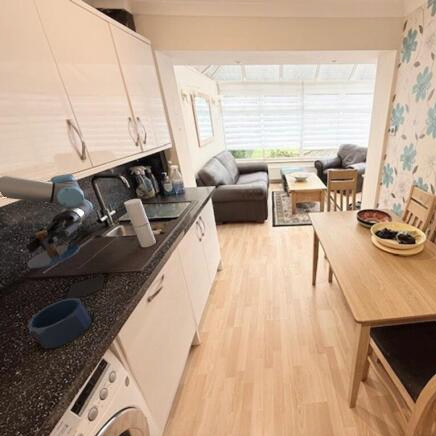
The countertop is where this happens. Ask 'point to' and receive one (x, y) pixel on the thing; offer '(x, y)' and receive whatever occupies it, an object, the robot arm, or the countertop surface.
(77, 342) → the countertop surface
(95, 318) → the countertop surface
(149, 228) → the cylindrical container
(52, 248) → the lid
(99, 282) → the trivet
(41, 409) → the countertop surface
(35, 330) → the pot
